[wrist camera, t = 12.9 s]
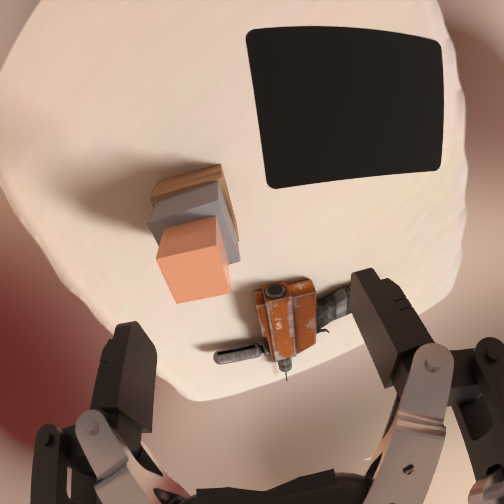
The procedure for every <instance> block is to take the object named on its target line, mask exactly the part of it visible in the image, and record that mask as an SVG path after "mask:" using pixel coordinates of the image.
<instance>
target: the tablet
mask: <svg viewBox="0 0 504 504" xmlns="http://www.w3.org/2000/svg"><path fill="white" fill-rule="evenodd" d="M246 42H247V48H248V54H249V61H250V67H251V74H252V80H253V87H254V93H255V100H256V107H257V114H258V121H259V128H260V135H261V142H262V149H263V156H264V164H265V171H266V179H267V184H268V185H269V186H270V187H271V188H273V189H279V188H286V187H293V186H299V185H306V184H314V183H321V182H329V181H337V180H345V179H353V178H362V177H371V176H381V175H391V174H402V173H414V172H427V171H436V170H438V169H439V167H440V165H441V156H442V143H443V122H444V83H443V63H442V62H443V56H442V50H441V46H440V44H439V43H438V42H437V41H435V40H431V39H427V38H422V37H417V36H412V35H406V34H401V33H394V32H387V31H380V30H371V29H361V28H348V27H324V26H300V27H276V28H263V29H254V30H251V31H250V32H249V33H248V34H247V36H246Z"/></svg>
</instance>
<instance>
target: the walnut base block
mask: <svg viewBox="0 0 504 504" xmlns="http://www.w3.org/2000/svg"><path fill="white" fill-rule="evenodd" d="M216 181H218V183H219V186H220V189H221V192H222V194H223V197H224V200H225V203H226V206H227V209H228V212H229V215H230V217H231V220H232V223H233V226H234V229H235V232H236V234H237V240H238V241H239V237H238V230H237V223H236V218H235V215H234V211H233V207H232V204H231V200H230V196H229V193H228V189H227V185H226V181H225V178H224V174H223V170H222V166H221V164H220V165H216V166H212V167H208V168H205V169H201V170H197V171H194V172H190V173H187V174H183V175H180V176H176V177H173V178H169V179H166V180H163V181H160V182H157V184H156V186H155V188H154V190H153V193H152V195H151V197H150V199H151V202H152V204H153V207H155V204H156V202H157V201H160V200H163V199H166V198H168V197H171V196H174V195H177V194H180V193H183V192H186V191H189V190H192V189H195V188H198V187H201V186H204V185H207V184H210V183H213V182H216Z"/></svg>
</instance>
